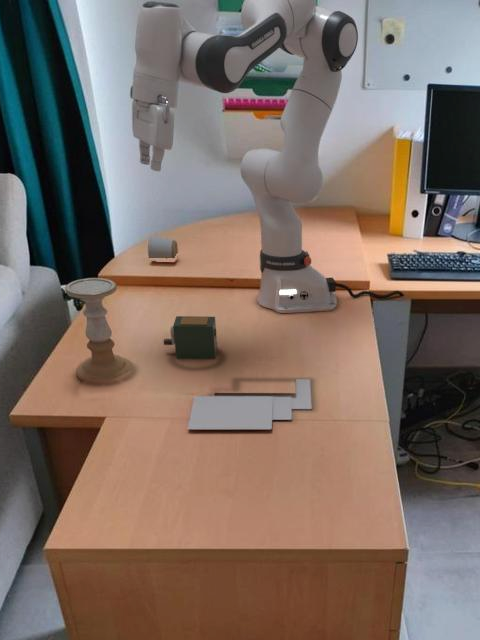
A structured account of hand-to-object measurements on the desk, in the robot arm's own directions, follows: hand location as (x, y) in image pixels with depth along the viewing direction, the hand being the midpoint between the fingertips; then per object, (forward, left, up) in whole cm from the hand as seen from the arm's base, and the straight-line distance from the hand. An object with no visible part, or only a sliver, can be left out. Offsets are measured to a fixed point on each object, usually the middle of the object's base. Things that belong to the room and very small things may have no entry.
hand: (149, 167), depth 152 cm
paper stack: (-21, +29, -41) cm, 55 cm away
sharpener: (-6, +6, -40) cm, 41 cm away
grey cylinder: (+10, -66, -41) cm, 79 cm away
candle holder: (+13, +14, -41) cm, 45 cm away
